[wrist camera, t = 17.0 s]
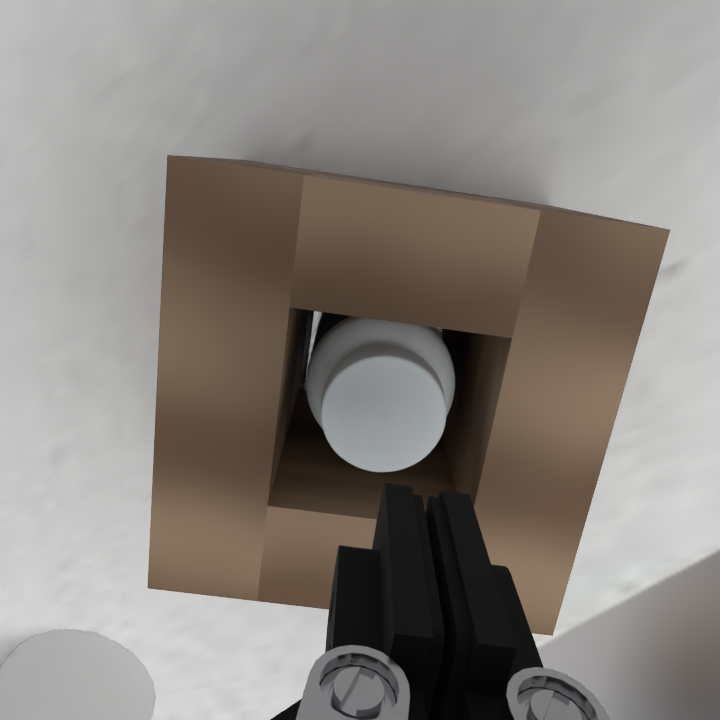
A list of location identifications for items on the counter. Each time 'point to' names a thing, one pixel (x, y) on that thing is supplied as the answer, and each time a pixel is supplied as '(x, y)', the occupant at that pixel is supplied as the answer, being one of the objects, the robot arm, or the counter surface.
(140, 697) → the cylinder with rectangular tab
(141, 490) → the counter surface
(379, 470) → the pill bottle
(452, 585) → the robot arm
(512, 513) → the socket block
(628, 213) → the counter surface
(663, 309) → the counter surface
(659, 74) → the counter surface
